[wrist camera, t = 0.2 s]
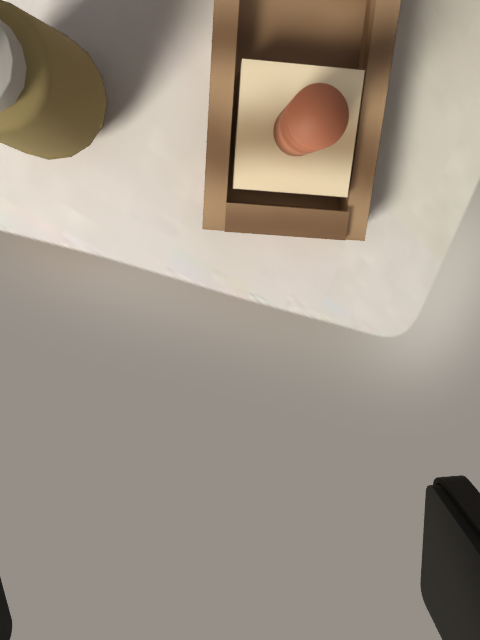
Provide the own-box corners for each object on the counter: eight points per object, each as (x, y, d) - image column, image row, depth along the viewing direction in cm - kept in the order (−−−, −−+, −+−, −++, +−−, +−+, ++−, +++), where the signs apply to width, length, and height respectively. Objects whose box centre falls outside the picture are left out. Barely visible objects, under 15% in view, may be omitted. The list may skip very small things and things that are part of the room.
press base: (225, -179, 30) (226, -264, 24) (403, -156, 31) (445, -234, 25) (204, 223, 37) (201, 231, 32) (348, 234, 38) (371, 243, 32)
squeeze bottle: (135, 79, 34) (49, -25, 17) (94, 180, 36) (-20, 179, 19) (30, 22, 33) (-178, -153, 16) (-7, 130, 35) (-227, 79, 18)
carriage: (240, 70, 32) (248, 21, 23) (351, 80, 33) (406, 37, 23) (232, 187, 35) (236, 190, 25) (336, 196, 35) (381, 201, 25)
